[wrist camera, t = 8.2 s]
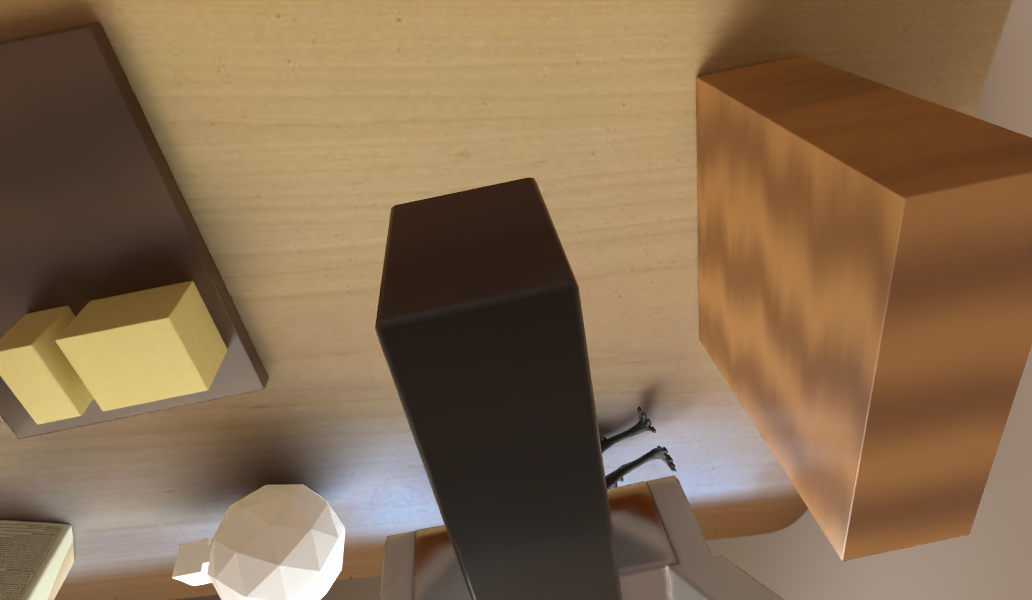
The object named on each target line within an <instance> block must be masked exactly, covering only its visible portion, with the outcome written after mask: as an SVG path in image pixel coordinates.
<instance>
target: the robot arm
mask: <svg viewBox="0 0 1032 600" xmlns="http://www.w3.org/2000/svg"><path fill="white" fill-rule="evenodd" d="M607 494H608V501H609V508H610V515H611V523H612V530H613V537H614V544H615V551H616V558H617V565H618V572H619V580H620V587H621V594H622V600H784V599H782V598H781V597H780V596H778V595H777V594H775V593H774V592H773V591H771V590H770V589H768V588H767V587H766V586H764V585H763V584H761V583H760V582H758V581H757V580H756V579H754V578H753V577H752V576H750V575H749V574H748V573H746V572H745V571H743V570H742V569H740V568H739V567H738V566H736V565H735V564H734V563H732V562H731V561H729V560H728V559H726V558H725V557H724V556H722V555H719V556H714V557H713V556H712V554H711V552H710V549H709V547H708V545H707V543H706V540H705V538H704V536H703V534H702V531H701V529H700V527H699V525H698V522H697V520H696V518H695V516H694V513H693V511H692V509H691V507H690V505H689V502H688V500H687V498H686V496H685V493H684V491H683V489H682V487H681V484H680V482H679V480H678V479H677V478H676V477H675V476H669V477H664V478H660V479H655V480H650V481H646V482H644V481H643V482H638V483H634V484H630V485H625V486H621V487H616V488H612V489H608V490H607ZM380 600H471V597H470V594H469V591H468V589H467V586H466V583H465V580H464V577H463V575H462V572H461V569H460V566H459V563H458V560H457V558H456V555H455V552H454V549H453V546H452V544H451V541H450V538H449V535H448V532H447V530H446V527H445V525H442V526H436V527H431V528H425V529H420V530H416V531H411V532H406V533H401V534H396V535H391V536H388V537H387V539H386V542H385V545H384V556H383V569H382V582H381V596H380Z"/></svg>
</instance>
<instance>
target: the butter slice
mask: <svg viewBox="0 0 1032 600" xmlns="http://www.w3.org/2000/svg"><path fill="white" fill-rule="evenodd" d="M75 317H76V316H75V315H74V313H73V312H72V310H71V309H70V307H69V306H63V307H58V308H53V309H48V310H43V311H38V312H33V313H28V314H25V315H24V316H23V317H22V318H21V319H20V320H19V321H18V322H17V323H16V324H15V325H14V326H13V327H12V328H11V329H10V330H9V331H8V332H7V333H6V334H5V335H4V336H2V337H1V338H0V376H1V377H2V379H3V380H4V381H5V383H6V384H7V385H8V387H9V388H10V389H11V391H12V392H13V393H14V394H15V396H16V397H17V398H18V400H19V401H20V402H21V404H22V405H23V406H24V408H25V409H26V410H27V412H28V413H29V414H30V416H31V417H32V418H33V420H34V421H35V422H36V424H43V423H48V422H53V421H58V420H63V419H68V418H73V417H78V416H81V415H82V414H83V412H84V411H85V409H86V408H87V407H88V405H89V404H90V402H91V401H92V400H93V396H92V395H91V393H90V392H89V390H88V389H87V387H86V386H85V384H84V383H83V381H82V380H81V378H80V377H79V375H78V374H77V372H76V371H75V369H74V368H73V366H72V365H71V363H70V362H69V361H68V359H67V358H66V356H65V355H64V353H63V352H62V350H61V349H60V347H59V346H58V344H57V343H56V341H55V339H56V338H57V337H58V336H59V335H60V334H61V332H62V331H63V330H64V329H65V328H66V327H67V326H68V325H69V324H70V323H71V321H72V320H73V319H74V318H75Z"/></svg>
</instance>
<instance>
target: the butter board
mask: <svg viewBox="0 0 1032 600" xmlns="http://www.w3.org/2000/svg"><path fill="white" fill-rule="evenodd" d="M188 281H193V282H194V284H195V286H196V288H197V290H198V292H199V294H200V295H201V297H202V299H203V301H204V303H205V305H206V307H207V309H208V311H209V313H210V315H211V317H212V319H213V321H214V323H215V325H216V327H217V329H218V331H219V333H220V335H221V337H222V339H223V341H224V343H225V345H226V347H227V352H226V354H225V356H224V358H223V360H222V362H221V364H220V366H219V368H218V371H217V373H216V375H215V377H214V379H213V381H212V383H211V385H210V387H209V389H208V390H207V391H202V392H197V393H192V394H187V395H182V396H177V397H172V398H167V399H162V400H157V401H152V402H147V403H142V404H137V405H132V406H128V407H123V408H118V409H113V410H108V411H102V409H101V408H100V407H99V405H98V404H97V402H96V401H95V399H94V398H93V400H92V401H91V402H90V404H89V405H88V407H87V408H86V409H85V411H84V412H83V414H82V415H81V416H78V417H73V418H68V419H63V420H58V421H53V422H48V423H43V424H36V422H35V421H34V420H33V418H32V417H31V416H30V414H29V413H28V412H27V410H26V409H25V408H24V406H23V405H22V404H21V402H20V401H19V400H18V398H17V397H16V396H15V394H14V393H13V392H12V391H11V389H10V388H9V387H8V385H7V384H6V383H5V381H4V380H3V379H2V377H1V376H0V416H1V417H2V418H3V419H4V421H5V422H6V423H7V424H8V426H9V427H10V428H11V429H12V431H13V432H14V433H15V434H16V436H17V437H18V438H19V439H22V438H27V437H32V436H37V435H42V434H47V433H52V432H57V431H62V430H66V429H71V428H76V427H81V426H86V425H91V424H96V423H101V422H106V421H111V420H116V419H121V418H126V417H131V416H135V415H140V414H145V413H150V412H155V411H160V410H165V409H170V408H175V407H180V406H185V405H190V404H195V403H200V402H205V401H209V400H214V399H219V398H224V397H229V396H234V395H239V394H244V393H249V392H254V391H259V390H264V389H265V387H266V384H267V382H268V376H267V374H266V372H265V370H264V367H263V365H262V363H261V361H260V359H259V357H258V355H257V353H256V351H255V348H254V346H253V344H252V342H251V340H250V338H249V336H248V334H247V332H246V329H245V327H244V325H243V323H242V321H241V319H240V317H239V315H238V313H237V310H236V308H235V306H234V304H233V302H232V300H231V298H230V296H229V294H228V291H227V289H226V287H225V285H224V283H223V281H222V279H221V277H220V275H219V272H218V270H217V268H216V266H215V264H214V262H213V260H212V258H211V256H210V253H209V251H208V249H207V247H206V245H205V243H204V241H203V239H202V237H201V234H200V232H199V230H198V228H197V226H196V224H195V222H194V220H193V218H192V215H191V213H190V211H189V209H188V207H187V205H186V203H185V201H184V198H183V196H182V194H181V192H180V190H179V188H178V186H177V184H176V182H175V179H174V177H173V175H172V173H171V171H170V169H169V167H168V165H167V163H166V160H165V158H164V156H163V154H162V152H161V150H160V148H159V146H158V144H157V141H156V139H155V137H154V135H153V133H152V131H151V129H150V127H149V125H148V122H147V120H146V118H145V116H144V114H143V112H142V110H141V108H140V106H139V103H138V101H137V99H136V97H135V95H134V93H133V91H132V89H131V87H130V84H129V82H128V80H127V78H126V76H125V74H124V72H123V70H122V68H121V65H120V63H119V61H118V59H117V57H116V55H115V53H114V51H113V49H112V46H111V44H110V42H109V40H108V38H107V36H106V34H105V32H104V30H103V27H102V25H101V24H100V23H96V24H91V25H85V26H80V27H75V28H70V29H65V30H60V31H54V32H49V33H44V34H39V35H34V36H29V37H24V38H18V39H13V40H8V41H3V42H0V338H1V337H2V336H4V335H5V334H6V333H7V332H8V331H9V330H10V329H11V328H12V327H13V326H14V325H15V324H16V323H17V322H18V321H19V320H20V319H21V318H22V317H23V316H24V315H25V314H28V313H33V312H38V311H43V310H48V309H53V308H58V307H63V306H69V307H70V309H71V310H72V312H73V313H74V315H75V316H77V315H78V314H79V313H80V311H81V310H82V309H83V308H84V307H85V306H86V305H87V304H88V303H89V302H90V301H93V300H98V299H103V298H108V297H113V296H118V295H123V294H128V293H133V292H138V291H143V290H148V289H153V288H158V287H163V286H168V285H173V284H178V283H183V282H188Z"/></svg>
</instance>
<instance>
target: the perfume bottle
mask: <svg viewBox="0 0 1032 600" xmlns="http://www.w3.org/2000/svg"><path fill="white" fill-rule="evenodd" d="M344 539H345V527H344V526H343V524H342V523H341V521H340V520H339V518H338V517H337V515H336V514H335V512H334V511H333V509H332V508H331V507H330V505H329V504H328V502H327V501H326V499H325V498H324V497H322V496H321V495H319V494H317V493H316V492H314V491H313V490H311V489H310V488H308V487H306V486H305V485H303V484H289V485H264V486H263V487H261V488H259V489H258V490H256V491H254V492H252V493H251V494H249V495H247V496H246V497H244V498H242V499H241V500H239V501H237V502H235V503H234V504H232V505H230V507H229V509H228V511H227V513H226V514H225V516H224V518H223V520H222V522H221V524H220V526H219V527H218V529H217V531H216V533H215V535H214V537H213V539H212V540H211V539H208V538H207V539H203V540H198V541H193V542H188V543H184V544H180V547H179V551H178V555H177V559H176V563H175V567H174V571H173V575H172V578H174V579H177V580H179V581H182V582H185V583H187V584H190V585H192V586H197V585H202V584H207V583H213V585H214V587H215V589H216V591H217V592H218V594H219V596H220V598H221V600H320V599H321V598H322V597H323V596H324V595H325V594H326V593H327V592H328V590H329V588H330V587H331V585H332V584H333V582H334V581H335V579H336V578H337V576H338V574H339V573H340V571H341V570H342V561H343V550H344Z"/></svg>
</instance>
